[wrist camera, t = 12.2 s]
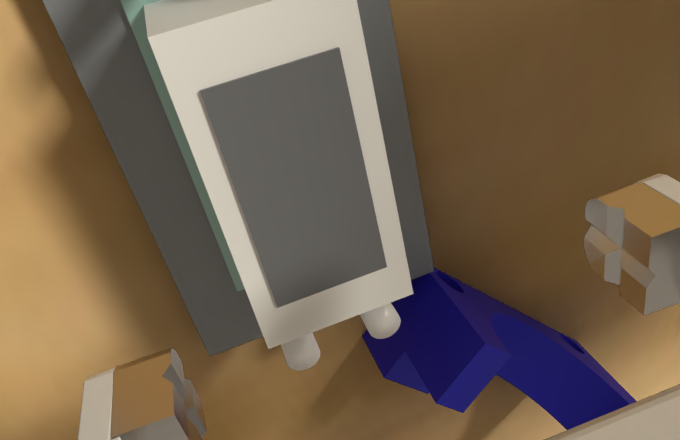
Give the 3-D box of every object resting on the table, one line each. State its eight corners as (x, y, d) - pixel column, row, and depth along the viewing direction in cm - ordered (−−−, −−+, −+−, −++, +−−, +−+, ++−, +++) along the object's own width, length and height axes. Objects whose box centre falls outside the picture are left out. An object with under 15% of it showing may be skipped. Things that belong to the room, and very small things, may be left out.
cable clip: (360, 333, 28) (412, 431, 23) (418, 258, 27) (485, 343, 22) (522, 399, 34) (591, 488, 29) (574, 339, 33) (655, 420, 28)
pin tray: (343, -199, 18) (411, -226, 13) (424, 259, 27) (480, 328, 22) (-3, -112, 16) (-50, -111, 12) (206, 341, 25) (222, 431, 21)
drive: (305, -42, 18) (353, -23, 14) (367, 228, 23) (414, 295, 20) (143, 4, 17) (147, 38, 14) (245, 272, 23) (268, 351, 19)
